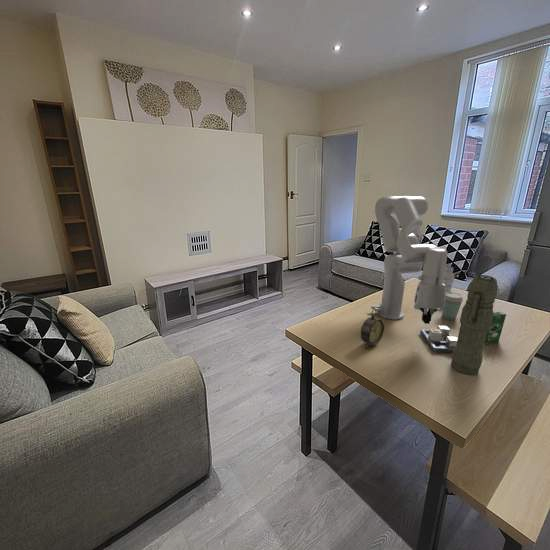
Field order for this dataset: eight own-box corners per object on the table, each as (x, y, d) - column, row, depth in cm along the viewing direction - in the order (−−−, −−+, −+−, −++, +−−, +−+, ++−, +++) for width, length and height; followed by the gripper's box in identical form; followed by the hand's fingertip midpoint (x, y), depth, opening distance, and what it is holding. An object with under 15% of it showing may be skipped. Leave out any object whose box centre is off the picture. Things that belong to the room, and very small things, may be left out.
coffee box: (493, 338, 125) (500, 310, 121) (499, 341, 122) (507, 313, 118) (478, 341, 123) (485, 313, 119) (484, 344, 120) (492, 316, 116)
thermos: (482, 365, 107) (505, 275, 96) (475, 381, 99) (499, 285, 88) (454, 356, 113) (473, 270, 102) (446, 370, 105) (465, 278, 93)
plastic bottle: (452, 303, 159) (459, 269, 153) (439, 303, 159) (446, 269, 153) (445, 299, 165) (452, 265, 159) (434, 299, 165) (440, 265, 159)
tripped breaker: (430, 342, 120) (432, 331, 118) (428, 338, 123) (429, 328, 121) (440, 342, 120) (442, 332, 118) (437, 338, 123) (439, 328, 121)
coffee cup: (453, 313, 148) (458, 291, 144) (462, 321, 140) (467, 298, 136) (436, 313, 148) (440, 291, 145) (443, 320, 140) (448, 298, 137)
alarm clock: (368, 351, 116) (372, 315, 111) (356, 346, 120) (360, 310, 115) (383, 342, 123) (387, 307, 117) (371, 337, 127) (375, 303, 121)
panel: (432, 352, 115) (434, 341, 113) (420, 333, 129) (421, 323, 127) (462, 354, 114) (465, 343, 112) (446, 335, 128) (448, 324, 126)
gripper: (415, 282, 111) (409, 325, 116) (457, 283, 109) (449, 327, 114) (409, 276, 118) (404, 317, 123) (448, 277, 116) (441, 319, 121)
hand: (425, 322), depth 118 cm, fingers closed
